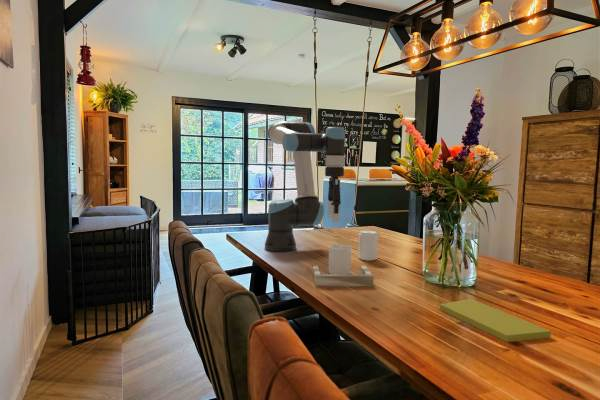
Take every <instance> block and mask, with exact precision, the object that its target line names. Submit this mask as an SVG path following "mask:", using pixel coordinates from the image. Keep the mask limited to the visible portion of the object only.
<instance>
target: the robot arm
mask: <svg viewBox="0 0 600 400" xmlns="http://www.w3.org/2000/svg"><path fill="white" fill-rule="evenodd" d="M315 129H316V128H314V125H313V124H312V123H310V122H308V121H307V122H305V121H286V120H284V121H282V120H281V121H278V122H274V123H273V124H272V125H271V126H269V128H268V130H267V137H268V139H269V140H270V142H272V143H274V144H276V145H282V149H283V150H284V151H285V152H286V151H287V152H293V163H294V171H295V173H294V174H295V182H296V184H295V185H296V193H297V195H296V196H297V197H296V198H295V199H294V200H293V199H287V198H286V199H278V200H273V201H271V202H270V203H269V204H268V211H267V213H268V232H267V236H266V239H265V243H264V249H265V250H266V251H269V252H278V253H279V252H281V253H282V252H291V251H295V250H297V242H296V239H295V236H294V232H293V231H294V229H293V228H294V227H308V226H310V227H312V226H318V225H320V224H321V223H322V221H323V218H324V213H325V206H324V203H323V202H322V201H320V200H319V196H318V195H316V193H315V183H314V175H313V166H312V157H311V156H312V155H311V152H313V153H315V152H316V153H318V152H319V153H320V152H321V153H325V155H324V156H325V157H324V158H323V161H325V169H324V176H325V177H329V178H328V193H327V200H328V208H327V209H328V211H327V217H331V222H333V223H339V222H340V213H341V212H340V209H341V207H340V206H341V202H342V201H341V187H340V186H341V179H339V177H344V175H345V168H344V166H345V156H346V155H345V147H346V146H345V145H346V144H345V141H346V130H345V128H344V127H342V126H328V127H327V128H326V129H325V133H316V130H315Z"/></svg>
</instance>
